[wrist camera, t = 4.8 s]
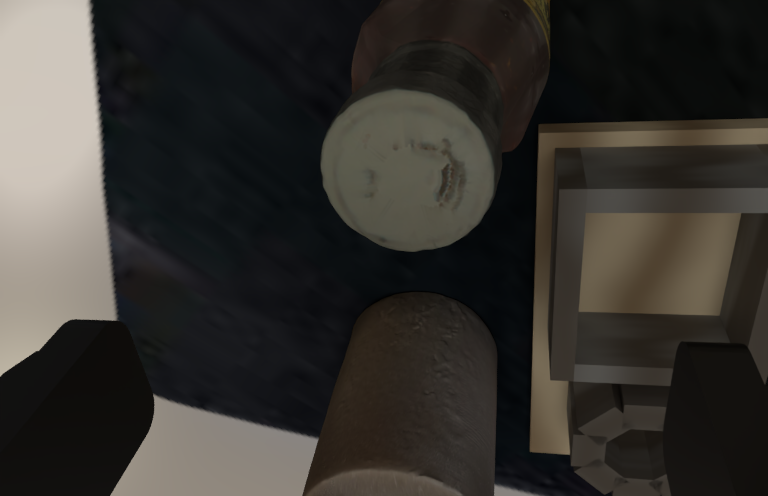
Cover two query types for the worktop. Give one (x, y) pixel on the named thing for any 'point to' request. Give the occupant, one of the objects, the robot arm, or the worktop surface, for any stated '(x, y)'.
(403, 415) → the pillar candle
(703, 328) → the socket board
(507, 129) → the sauce bottle
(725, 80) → the worktop surface
